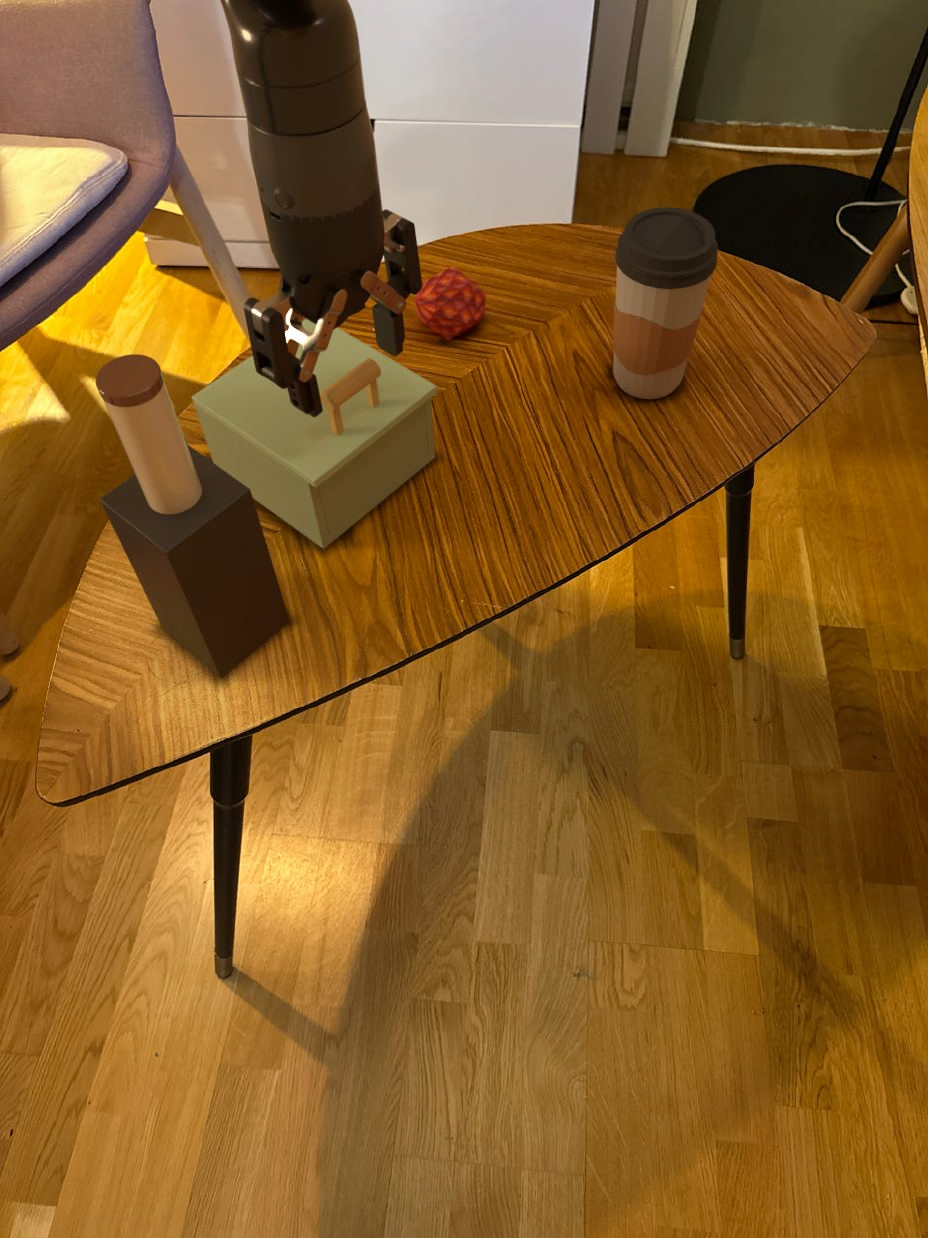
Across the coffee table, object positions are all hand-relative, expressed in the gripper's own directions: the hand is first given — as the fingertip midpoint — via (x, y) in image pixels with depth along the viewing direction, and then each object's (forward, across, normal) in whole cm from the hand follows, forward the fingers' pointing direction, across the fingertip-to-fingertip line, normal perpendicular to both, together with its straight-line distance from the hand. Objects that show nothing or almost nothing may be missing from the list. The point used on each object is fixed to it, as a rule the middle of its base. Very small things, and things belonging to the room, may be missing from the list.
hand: (350, 379), depth 74 cm
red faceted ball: (+13, -21, -9) cm, 26 cm away
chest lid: (+5, 0, -5) cm, 7 cm away
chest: (+12, 0, -5) cm, 13 cm away
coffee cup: (+13, -27, +10) cm, 31 cm away
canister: (-3, +17, +1) cm, 17 cm away
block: (+12, +17, +1) cm, 21 cm away
